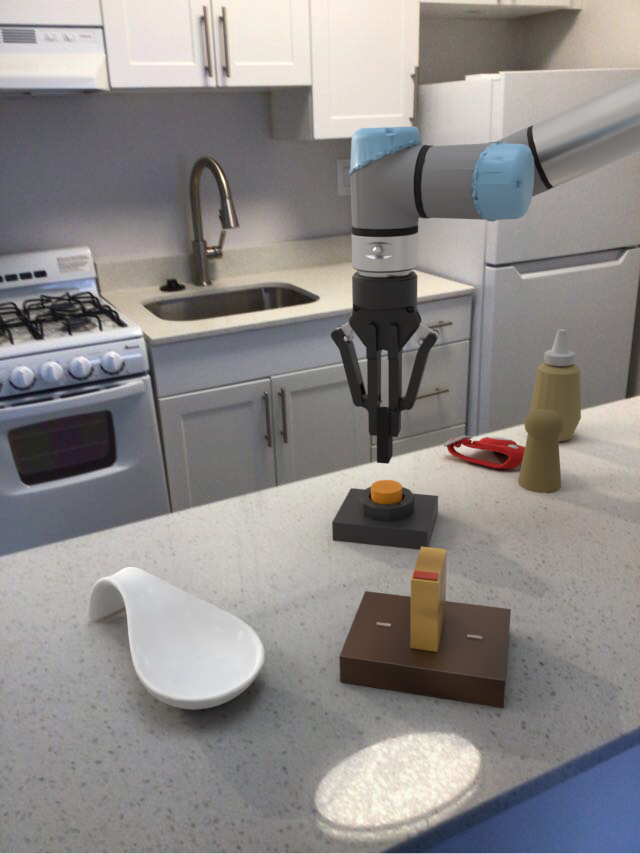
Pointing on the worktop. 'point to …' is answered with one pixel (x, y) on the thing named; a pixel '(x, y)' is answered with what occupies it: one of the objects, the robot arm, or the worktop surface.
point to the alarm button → (386, 492)
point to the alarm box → (386, 520)
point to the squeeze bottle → (559, 385)
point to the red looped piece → (489, 444)
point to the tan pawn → (541, 452)
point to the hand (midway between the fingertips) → (384, 458)
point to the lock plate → (427, 670)
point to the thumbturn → (428, 598)
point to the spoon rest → (180, 640)
